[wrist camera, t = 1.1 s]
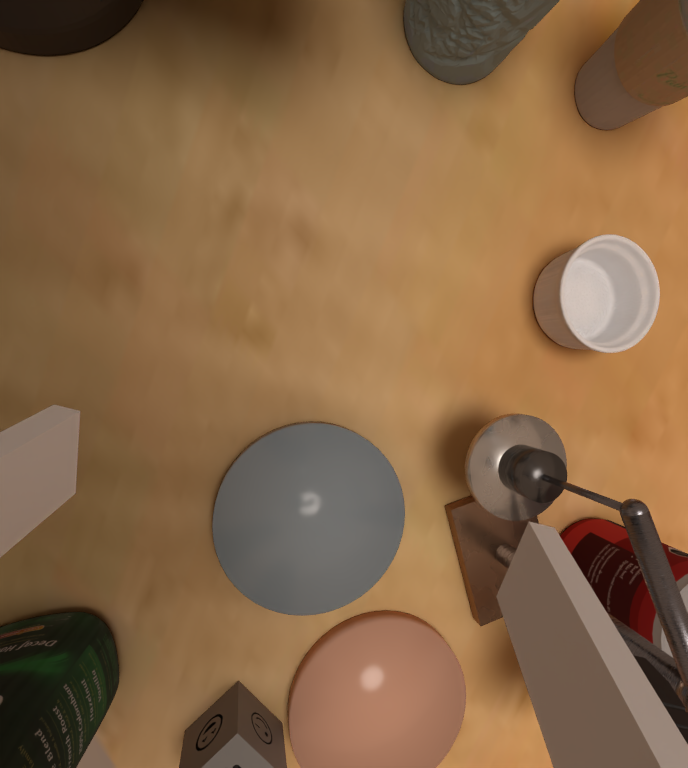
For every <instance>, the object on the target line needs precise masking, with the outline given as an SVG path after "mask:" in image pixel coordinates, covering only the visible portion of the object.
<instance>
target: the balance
mask: <svg viewBox="0 0 688 768" xmlns="http://www.w3.org/2000/svg"><path fill="white" fill-rule="evenodd" d="M566 466H567V463H566V453H565V449H564V446H563V443H562V441H561V439H560V437H559V436H558V434H557V433H556V431H555V430H554V429H553V428H552V427H551V426H550V425H549V424H547V423H546V422H545V421H543V420H541V419H539V418H536V417H534V416H529V415H523V414H506V415H502V416H499V417H497V418H495V419H493V420H491V421H490V422H488V423H487V424H486V425H484V426H483V427H482V428H481V429H480V430H479V432H478V433H477V434H476V435H475V437H474V439H473V440H472V442H471V444H470V446H469V449H468V452H467V455H466V461H465V476H466V482H467V485H468V488H469V490H470V493H471V495H472V496H469V497H467V498H464V499H461V500H458V501H456V502H453V503H450V504H447V505H445V509H446V513H447V517H448V521H449V524H450V528H451V532H452V536H453V540H454V544H455V548H456V552H457V556H458V560H459V564H460V568H461V571H462V575H463V579H464V583H465V587H466V591H467V595H468V599H469V603H470V607H471V611H472V615H473V618H474V619H475V621H476V622H477V623H478V624H479V625H480V626H483V625H485V624H488V623H490V622H492V621H495V620H497V619H499V618H502V617H503V615H502V612H501V609H500V606H499V603H498V600H497V597H496V596H497V594H498V591H499V589H500V587H501V584H502V582H503V580H504V578H505V575H506V573H507V571H508V568H509V566H510V564H511V561H512V559H513V557H514V554H515V552H516V550H517V547H518V545H519V543H520V541H521V538H522V536H523V534H524V531H525V529H526V527H527V524H528V522H533V523H537V524H539V523H538V519H537V515H538V514H540V513H542V512H543V511H544V510H546V509H547V508H548V507H549V506H550V505H551V504H552V503H553V501H554V500H555V499H556V498H557V497H558V496H559V495H560V494H561V493H562V491H563V490H564V489H566V490H568V491H571V492H573V493H576V494H578V495H581V496H584V497H586V498H589V499H591V500H594V501H596V502H599V503H601V504H604V505H606V506H609V507H611V508H614V509H616V510H619V511H620V515H621V518H622V520H623V523H624V526H625V528H626V531H627V534H628V536H629V539H630V542H631V545H632V547H633V550H634V553H635V555H636V558H637V561H638V563H639V566H640V569H641V572H642V574H643V577H644V580H645V582H646V585H647V588H648V591H649V593H650V596H651V599H652V601H653V604H654V607H655V609H656V612H657V615H658V618H659V620H660V623H661V626H662V628H663V631H664V634H665V636H666V639H667V642H668V645H669V647H670V650H671V653H672V655H673V657H671V656H670V655H668V654H667V653H665V652H664V651H663V650H661V649H660V648H658V647H657V646H655V645H654V644H652V643H651V642H649V641H648V640H647V639H645V638H644V637H642V636H641V635H639V634H638V633H636V632H635V631H634V630H632V629H631V628H629V627H628V626H626V625H625V624H623V623H622V622H621V621H619V620H618V619H616V618H615V617H613V616H612V615H610V614H609V613H607V614H608V615H609V617H610V619H611V620H612V622H613V624H614V625H615V627H616V628H617V630H618V632H619V633H620V635H621V637H622V638H623V640H624V641H625V643H626V645H627V646H628V648H629V650H630V651H631V653H632V654H633V655H635V656H639V657H643V658H646V659H647V660H648V661H649V662H650V663H651V664H652V665H653V666H654V667H655V668H656V669H657V670H658V671H659V672H660V674H661V675H662V676H663V677H664V678H665V679H666V680H667V681H668V682H669V683H670V685H671V686H672V688H673V689H674V691H675V692H676V694H677V695H678V697H679V698H680V700H681V701H682V703H683V704H684V706H685V707H686V708H685V711H686V712H688V612H687V610H686V607H685V605H684V602H683V599H682V597H681V594H680V591H679V589H678V586H677V583H676V581H675V578H674V575H673V573H672V570H671V567H670V565H669V562H668V559H667V557H666V554H665V551H664V549H663V546H662V544H661V541H660V538H659V536H658V533H657V530H656V528H655V525H654V522H653V520H652V517H651V514H650V512H649V509H648V507H647V506H646V505H645V504H644V503H643V502H642V501H640V500H637V499H628V500H626V501H624V502H623V503H621V502H618V501H615V500H613V499H610V498H607V497H605V496H602V495H599V494H597V493H594V492H591V491H588V490H586V489H583V488H580V487H578V486H575V485H572V484H570V483H567V470H566Z"/></svg>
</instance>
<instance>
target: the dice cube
mask: <svg viewBox="0 0 688 768" xmlns="http://www.w3.org/2000/svg"><path fill="white" fill-rule="evenodd" d="M179 768H287V765H286V755H285V745H284V735H283V726H282V722H281V721H280V720H278V719H277V718H276V717H275V716H274V715H273V714H272V713H271V712H270V711H269V710H268V709H267V708H266V707H265V706H264V705H263V704H262V703H261V702H260V701H259V700H258V699H257V698H256V697H255V696H254V695H253V694H252V693H251V692H250V691H249V690H248V689H247V688H246V687H245V686H244V685H243V684H242V683H241V682H240V681H238V682H237V683H235V684H234V685H233V686H232V687H231V688H230V689H229V690H228V691H227V692H226V693H225V694H224V695H223V696H222V697H221V698H220V699H218V700H217V701H216V702H215V703H214V704H213V705H212V706H211V707H210V708H209V709H208V710H207V711H206V712H205V713H204V714H202V715H201V716H200V717H199V718H198V719H197V720H196V721H195V722H194V723H193V724H192V725H191V726H190V727H189V728H188V729H186V730H185V735H184V741H183V747H182V753H181V759H180V765H179Z"/></svg>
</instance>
